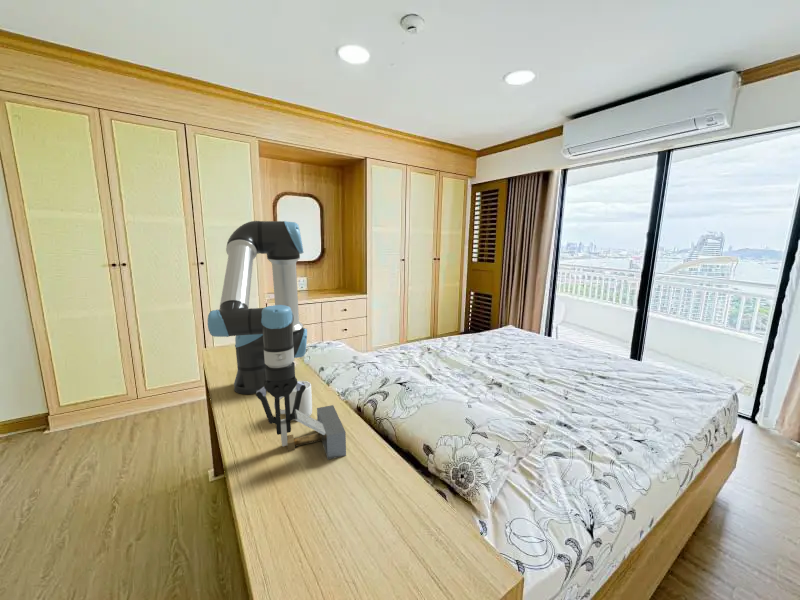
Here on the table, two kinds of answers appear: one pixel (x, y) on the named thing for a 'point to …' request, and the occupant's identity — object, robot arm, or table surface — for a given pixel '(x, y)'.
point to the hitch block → (332, 432)
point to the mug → (305, 400)
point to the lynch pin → (302, 440)
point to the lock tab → (309, 422)
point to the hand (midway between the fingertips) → (284, 443)
